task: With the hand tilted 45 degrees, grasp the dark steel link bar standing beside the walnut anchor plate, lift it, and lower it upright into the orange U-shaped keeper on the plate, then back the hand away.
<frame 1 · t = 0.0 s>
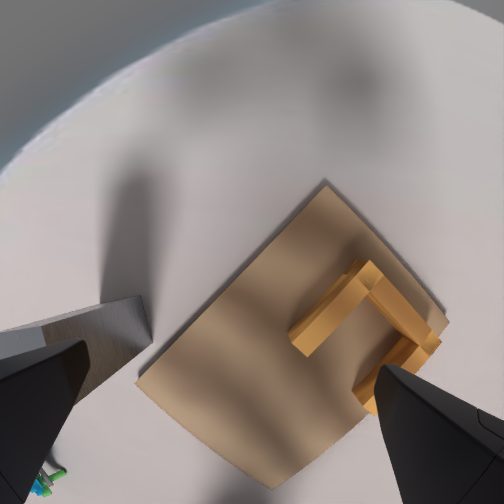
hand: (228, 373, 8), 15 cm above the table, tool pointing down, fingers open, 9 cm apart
link bar: (125, 323, 24), on the table
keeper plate: (299, 358, 24), on the table
gear: (37, 444, 24), on the table
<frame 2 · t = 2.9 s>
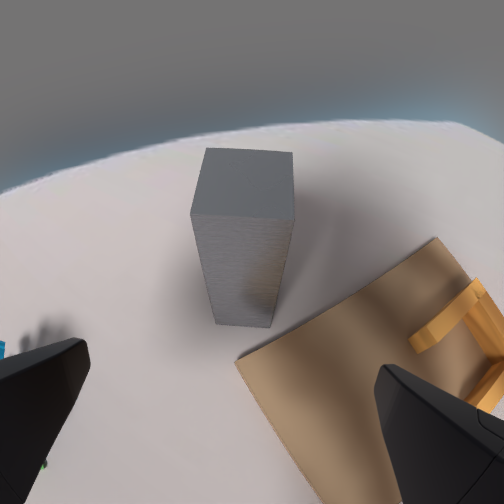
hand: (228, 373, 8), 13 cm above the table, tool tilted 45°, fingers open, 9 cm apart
link bar: (244, 301, 24), on the table
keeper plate: (409, 374, 21), on the table
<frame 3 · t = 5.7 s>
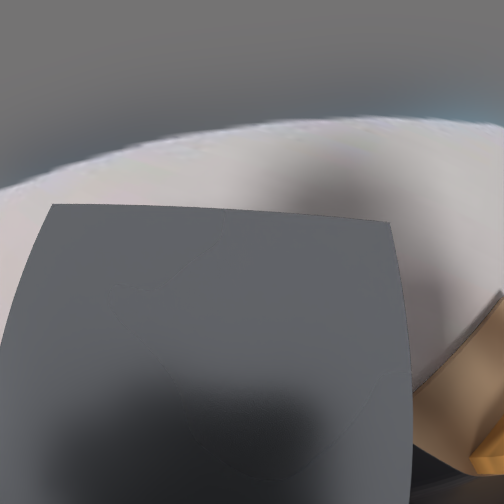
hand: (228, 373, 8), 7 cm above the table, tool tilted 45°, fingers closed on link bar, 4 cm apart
link bar: (232, 422, 13), on the table, touching gripper
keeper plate: (462, 495, 10), on the table
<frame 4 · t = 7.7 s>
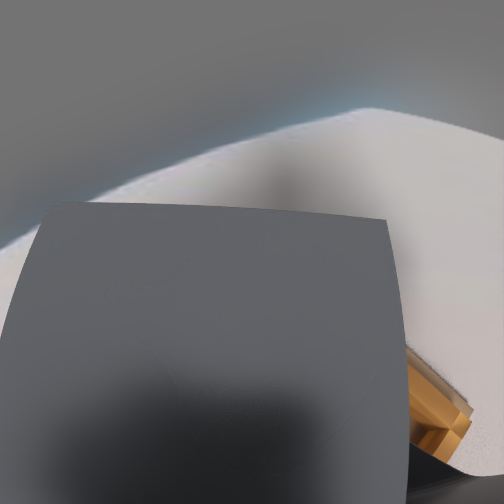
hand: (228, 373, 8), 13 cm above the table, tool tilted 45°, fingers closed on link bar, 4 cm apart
link bar: (231, 421, 13), point 7 cm above the table, touching gripper
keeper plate: (316, 466, 17), on the table
when the fingers open (9 cm above the table, at t = 9.8 s): link bar drops 1 cm, resting on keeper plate.
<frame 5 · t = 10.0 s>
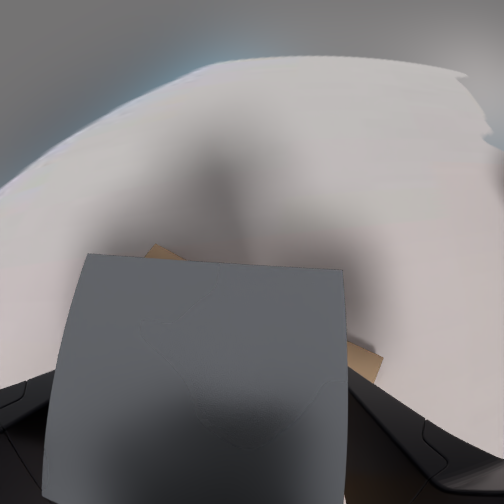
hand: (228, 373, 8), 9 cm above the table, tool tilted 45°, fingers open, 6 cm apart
link bar: (234, 421, 14), point 1 cm above the table, touching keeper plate
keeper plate: (167, 460, 14), on the table
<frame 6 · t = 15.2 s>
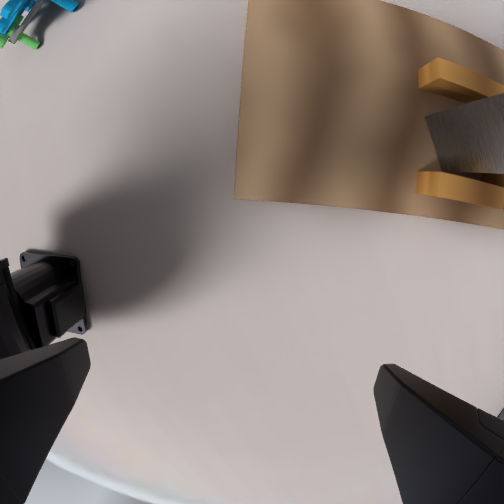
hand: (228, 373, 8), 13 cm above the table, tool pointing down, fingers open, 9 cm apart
link bar: (453, 138, 18), point 1 cm above the table, touching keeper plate
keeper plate: (400, 101, 18), on the table
gear: (54, 6, 17), on the table
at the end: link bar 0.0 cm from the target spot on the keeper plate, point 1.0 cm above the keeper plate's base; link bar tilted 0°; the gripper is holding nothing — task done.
